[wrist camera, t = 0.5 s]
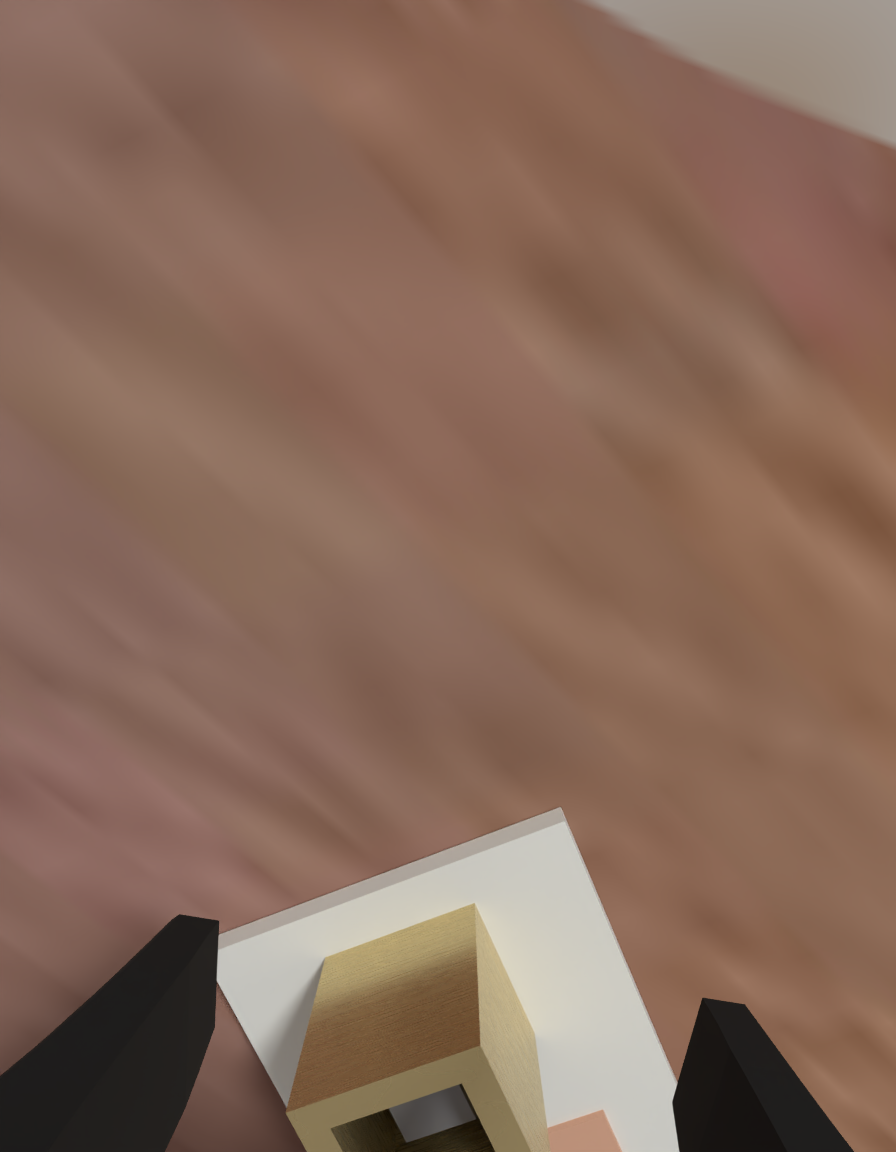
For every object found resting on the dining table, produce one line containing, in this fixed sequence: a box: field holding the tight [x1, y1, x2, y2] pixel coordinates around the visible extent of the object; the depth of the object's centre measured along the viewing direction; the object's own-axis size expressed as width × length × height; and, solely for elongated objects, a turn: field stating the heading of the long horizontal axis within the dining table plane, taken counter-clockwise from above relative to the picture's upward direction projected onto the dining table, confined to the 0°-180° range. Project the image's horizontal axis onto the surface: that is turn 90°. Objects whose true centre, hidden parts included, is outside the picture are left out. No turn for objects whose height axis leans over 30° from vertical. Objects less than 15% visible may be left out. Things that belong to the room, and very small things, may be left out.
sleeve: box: [286, 903, 551, 1152], centre depth 19 cm, size 5×5×5 cm
